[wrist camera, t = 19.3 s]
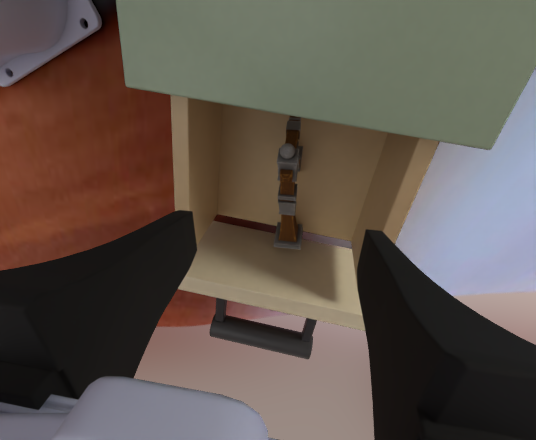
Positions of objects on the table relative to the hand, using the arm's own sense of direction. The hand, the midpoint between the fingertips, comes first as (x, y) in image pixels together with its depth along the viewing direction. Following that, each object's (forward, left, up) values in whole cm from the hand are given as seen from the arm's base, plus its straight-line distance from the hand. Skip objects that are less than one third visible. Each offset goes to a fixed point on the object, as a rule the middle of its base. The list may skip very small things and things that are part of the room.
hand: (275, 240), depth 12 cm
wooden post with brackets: (0, 0, -7) cm, 7 cm away
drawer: (-1, -1, -8) cm, 8 cm away
